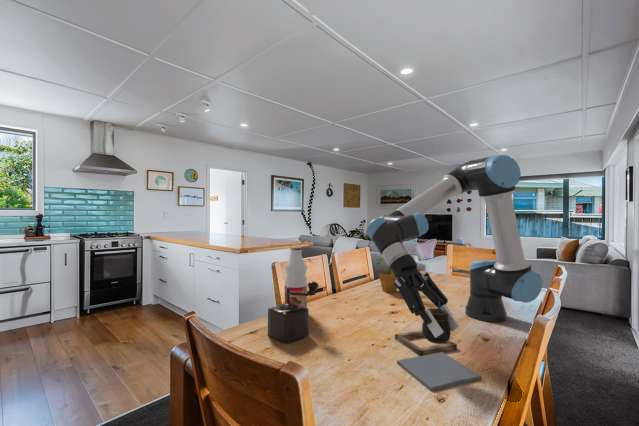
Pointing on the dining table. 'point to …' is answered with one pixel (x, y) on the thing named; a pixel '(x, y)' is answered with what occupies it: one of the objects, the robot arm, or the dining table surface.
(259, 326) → the dining table surface
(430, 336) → the mate gourd
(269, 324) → the pepper mill
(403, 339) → the frame
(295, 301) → the fruit juice
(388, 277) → the potted plant
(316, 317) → the dining table surface
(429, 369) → the charcoal mat
